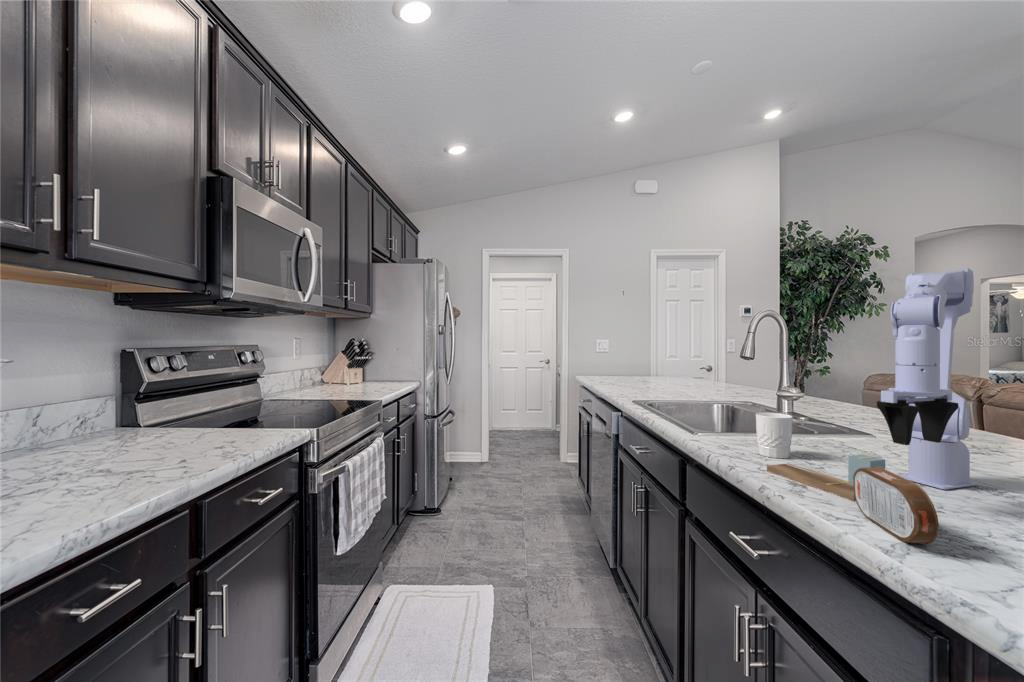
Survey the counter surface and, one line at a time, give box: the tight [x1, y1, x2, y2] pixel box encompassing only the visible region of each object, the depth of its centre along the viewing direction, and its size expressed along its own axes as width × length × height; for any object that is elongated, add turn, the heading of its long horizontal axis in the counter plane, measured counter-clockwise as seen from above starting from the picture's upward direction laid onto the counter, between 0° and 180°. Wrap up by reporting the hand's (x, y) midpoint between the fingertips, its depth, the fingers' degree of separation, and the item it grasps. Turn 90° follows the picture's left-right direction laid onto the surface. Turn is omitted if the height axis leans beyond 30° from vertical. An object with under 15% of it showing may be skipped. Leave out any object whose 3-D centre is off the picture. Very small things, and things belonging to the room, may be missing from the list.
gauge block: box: [847, 454, 886, 483], centre depth 84 cm, size 4×4×6 cm
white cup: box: [755, 412, 794, 459], centre depth 106 cm, size 8×8×10 cm
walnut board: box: [766, 463, 856, 502], centre depth 85 cm, size 6×18×1 cm, turn 16°
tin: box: [853, 467, 940, 545], centre depth 64 cm, size 15×3×8 cm, turn 168°
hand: (916, 442), depth 75 cm, fingers open, 7 cm apart
